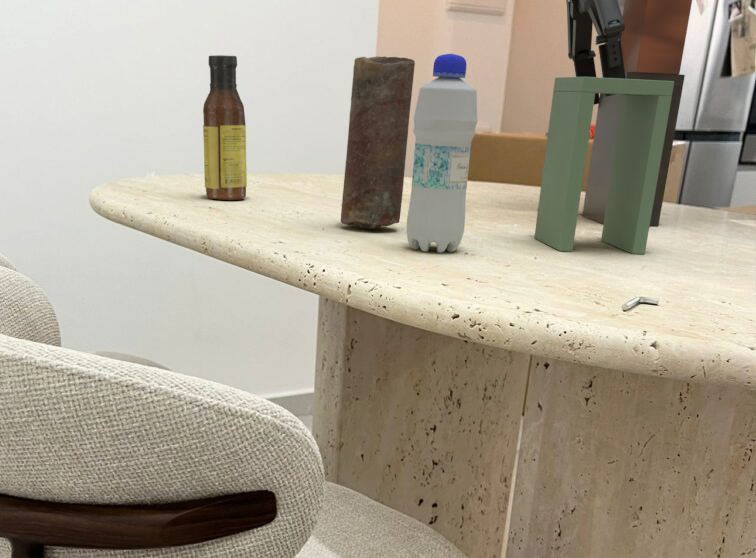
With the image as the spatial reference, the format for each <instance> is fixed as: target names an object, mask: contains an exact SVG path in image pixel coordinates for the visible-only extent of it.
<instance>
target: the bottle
mask: <svg viewBox="0 0 756 558" xmlns="http://www.w3.org/2000/svg"><path fill="white" fill-rule="evenodd" d="M466 75H467V60H466V59H465V57H463V56H461V55H459V54H456V53H455V54H454V53H445V54H440V55H438V56H437V57H436V58H435V60H434V62H433V69H432V77H435V78H434V79H432V80H430V81H429V82H427V83H425V84H424V85H422V86H421V87H419V91H418V96H417V101H416V105H415V106H416V107H415V110H414V114H413V116H412V117H413V123H414V124H413V125H414V126H413V129H412V132H413V134H414V137H415V141H414V152H413V153H414V154H413V164H412V165H413V166H412V177H411V189H410V197H409V203H408V204H409V205H408V211H407V218H406V236H407V237H406V238H407V242H408V243H407V244H408V245H409V247H410V248H411V249H413V250H419V248H420V250H421V251H422V252H424V253H425V252H429V250H430V246H431V243H435V245H436V252H437V253H439V254H442V253H444V252H445V251H447V252H448V253H453V252H455V251H456V250H457V249H458V248H459V247H460V244H461V241H462V239H463V236H464V233H465V225H466V198H467V188H468V180H469V179H468V178H469V169H470V168H469V167H470V158H471V149H472V141H473V139H474V137H475V136H476V128H477V126H476V125H477V123H478V95H477V89H476V88H474V87H473V86H471V85H470V84H469V83H467V82H466V81H465V80H463V79H466Z"/></svg>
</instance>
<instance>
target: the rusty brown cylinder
mask: <svg viewBox="0 0 756 558" xmlns="http://www.w3.org/2000/svg"><path fill="white" fill-rule="evenodd" d="M415 65H416V62H415V60H414V59H412V58H408V57H398V56H389V57H388V56H370V57H366V56H361V57H360V56H359V57H356V58H355V59H354V64H353V73H352V86H351V94H350V95H351V97H350V110H349V119H348V120H349V121H348V131H347V132H348V134H347V145H346V156H345V167H344V177H343V188H342V199H341V212H340V223H341V224H343V225H347V226H353V227H355V228H359V229H362V230H364V229H365V230H378V229H380V228H382V227H389V226H392V225H395V224H399V223H400V219H401V211H402V210H401V209H402V203H403V192H404V181H405V171H406V159H407V158H406V157H407V149H408V137H409V126H410V125H409V124H410V114H411V104H412V96H413V86H414V75H415V67H416V66H415Z"/></svg>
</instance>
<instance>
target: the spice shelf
mask: <svg viewBox="0 0 756 558" xmlns="http://www.w3.org/2000/svg"><path fill="white" fill-rule="evenodd" d="M625 77H626V79H640V80H659V81H674V86H673V92H672V98H671V104H670V110H669V116H668V121H667V127H666V133H665V139H664V145H663V151H662V156H661V162H660V168H659V174H658V180H657V185H656V191H655V197H654V203H653V209H652V214H651V220H650V226H649V227H659V225H660V220H661V219H660V218H661V213H662V208H663V201H664V196H665V190H666V184H667V179H668V174H669V168H670V162H671V156H672V152H673V151H672V150H673V146H674V145H673V144H674V139H675V134H676V128H677V122H678V117H679V110H680V105H681V99H682V94H683V88H684V83H685V77H686V74H680V73H679V74H660V73H641V72H625ZM601 78H603V76H602V77H601ZM623 96H624V95H622V94H615V95H611V96H607V97H605V94H601V93H599V104H597V112H596V119H595V126H594V132H593V138H592V147H591V153H590V158H589V160H590V161H589V166H588V167H589V168H588V174H587V181H586V188H585V195H584V201H583V207H582V215H581V216H582V217H583V218H587V219H589V220H592V221H595V222H597V223H600V224H602V225H604V218H605V212H606V205H607V199H608V192H609V186H610V180H611V173H612V167H613V160H614V154H615V147H616V141H617V134H618V128H619V121H620V115H621V108H622V102H623Z"/></svg>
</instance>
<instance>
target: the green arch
mask: <svg viewBox="0 0 756 558" xmlns="http://www.w3.org/2000/svg"><path fill="white" fill-rule="evenodd" d="M673 86H674V81H659V80H640V79H620V78H602V77H597V76H596V77H576V76H562V77H561V76H559V77H554V84H553V91H552V99H551V107H550V112H549V113H550V114H549V122H548V128H547V129H548V130H547V136H546V144H545V152H544V160H543V168H542V176H541V183H540V190H539V197H538V198H539V199H538V206H537V215H536V222H535V229H534V239H535V240H537V241H540V242H542V243H543V244H545V245H547V246H549V247H551V248H553V249H555V250H557V251H558V252H571V253H572V252H573V250H574V243H575V238H576V237H575V236H576V230H577V229H576V228H577V222H578V217H579V209H580V201H581V195H582V189H583V188H582V187H583V181H584V175H585V174H584V173H585V168H586V167H585V166H586V161H587V153H588V147H589V139H590V133H591V126H592V118H593V112H594V106H595V105H594V99H595V93H599V94H600V93H601V94H622V95H624V96H623V102H622V108H621V115H620V121H619V128H618V134H617V141H616V147H615V154H614V160H613V167H612V173H611V180H610V186H609V192H608V199H607V205H606V212H605V218H604V224H602V232H601V238H600V241H602V242H604V243H606V244H609V245H611V246H613V247H615V248H618V249H620V250H623V251H624V252H627V253H630V254H631V255H645V254H646V248H647V242H648V238H649V233H650V227H651V226H650V220H651V214H652V209H653V203H654V197H655V191H656V185H657V180H658V174H659V168H660V162H661V156H662V151H663V145H664V139H665V133H666V127H667V121H668V116H669V110H670V104H671V98H672V92H673Z"/></svg>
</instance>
